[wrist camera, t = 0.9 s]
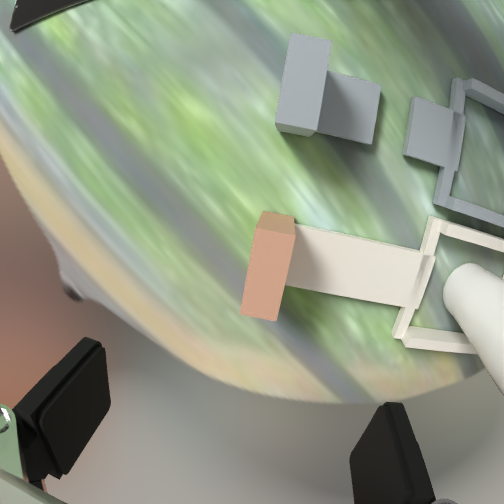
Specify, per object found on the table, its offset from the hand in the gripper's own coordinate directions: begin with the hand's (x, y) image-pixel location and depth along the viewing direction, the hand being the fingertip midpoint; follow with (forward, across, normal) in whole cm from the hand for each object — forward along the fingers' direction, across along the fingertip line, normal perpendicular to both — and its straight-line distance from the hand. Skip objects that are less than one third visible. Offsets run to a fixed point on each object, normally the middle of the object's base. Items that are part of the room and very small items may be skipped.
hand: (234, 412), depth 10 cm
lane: (+18, -12, 0) cm, 22 cm away
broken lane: (+18, -12, -13) cm, 25 cm away
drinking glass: (+19, -19, 0) cm, 27 cm away
